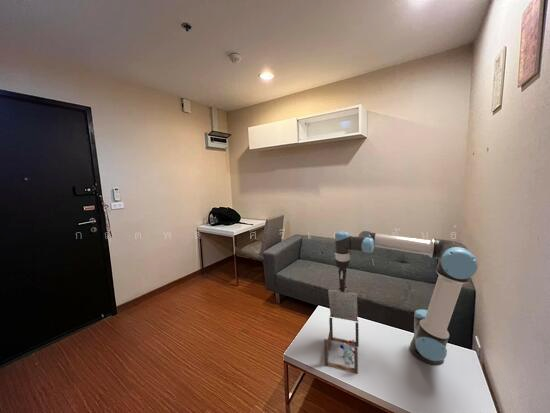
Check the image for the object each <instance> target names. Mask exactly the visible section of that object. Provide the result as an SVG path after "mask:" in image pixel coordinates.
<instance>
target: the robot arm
mask: <svg viewBox="0 0 550 413" xmlns="http://www.w3.org/2000/svg"><path fill="white" fill-rule="evenodd" d="M375 247H376V248H383V249H388V250H394V251H402V252H408V253H414V254H421V255H427V256H429V257H430V258H431V259H436V260H437V259H438V263H437V265H436V269H435V272H436V274H437V275H438V276H437V280H436V283H435V286H434V289H433V292H432V295H431V299H430V302H429V305H428V307H427V308H428V309H424V308H423V309H422V308H421V309H416V310H415V311H414V314H413V316H414V320H413V321H414V323H413V337H412V339H411V341H410V344H409V350H410V353H411V354H412V355H413V356H414V357H415V358H416V359H417V360H420V361H421V362H423V363H425V364H429V365H434V366H438V365H441V364H443V363H444V362H445V359H446V357H447V351H448V350H447V344H448V341H449V339H450V333H449V331H448V327H449V324H450V322H451V320H452V319H451V318H452V315H453V312H454V310H455V307H456V304H457V302H458V301H457V300H458V298H459V296H460V292H461V291H462V287H463V285H465V284H468V283H469V281H470V278H471V277H473V276H474V275H475V274H476V273H477V271H478V261H477V259H476V257H475V255H474V254H473V253H472V252H471V251H470V250H469V248H468V247H467V246H466V244H463V243H462V242H459V241H457V240H449V239H441V238H431V239H425V238H415V237H408V236H400V235H392V234H386V233H376V232H372V231H370V230H367V229H366V230H362V231H361V232H360V233H359V234H358V236H352V235H350V233H349V231H346V230H345V231H343V230H342V231H341V230H340V231H336V232H335V234H334V252H335V253H333V255H335V260H334V261H335V264H334V265H335V267H336V268H337V269H338V272H337V273H338V278H339V280H338V281H339V282H338V283H339V287H338V291H345V292H346V289H347V288H348V286H346V284H347V283H346V277H347V269H348V268H350V251H353V252H361V253H373V251H374V248H375Z"/></svg>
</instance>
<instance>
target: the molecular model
mask: <svg viewBox="0 0 550 413" xmlns="http://www.w3.org/2000/svg"><path fill="white" fill-rule="evenodd" d="M352 342H355V339H352V340H351V339H350V340H349V343H350V344H349V347H348V349H347V350H346V349H345V348H344V346H346V344H347V343H343V342H342V344H340V345H339V347H337V351H340V349H342V350H343V351H344V353H342V355H341V356H342V357H345V355H346V356H347V358H346V359H345V360H344V361H345V362H346V363H348V362H349V361H351V363H352V364H354V359H352V358H353V357H354V349H353V347H352V344H351V343H352ZM349 352H352V353H351V355H349Z"/></svg>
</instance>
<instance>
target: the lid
mask: <svg viewBox="0 0 550 413" xmlns="http://www.w3.org/2000/svg"><path fill="white" fill-rule="evenodd" d="M327 293H328V294H327V295H328V301H329V302H328V303H329V318H335V319H340V320H346V321H350V322H351V321H352V322H355V323H356V322H357V323H359V319H358V293H357V292H351V291H346V290H345V291H340V290H336V289H328V290H327Z"/></svg>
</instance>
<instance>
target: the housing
mask: <svg viewBox="0 0 550 413" xmlns="http://www.w3.org/2000/svg"><path fill="white" fill-rule="evenodd" d="M333 330H334V329H333V317H329V333H328V337H327V339H324V340H323V344H324V345H323V349H324V350H323V353H324V354H323V355H324V356H323V357H324V366H326V367H327V366H329V367H333V368H335V369H340V370H344V371H348V372H352V373H354V374H357V375H358V373H359V372H358V371H359V370H358V369H359V364H358V363H359V361H358V360H359V359H358V357H359V356H358V355H359V353H358V351H359V349H358V348H359V345H360V344H359V341H360V340H359V335H360V334H359V322H356V321H355V341H354V342H352V343H351V346H352V345H353V350H354V356H353V361H354V367H350V366H347V365H343V364H338V363H336V362H332V361H329V353H330V349H331V348H330V347H331V344H332V342H333V341H334V342H339V343H342V344H343V343H346V344H349V345H350V343H349V340H348V339H343V338H339V337H338V338H337V337H335V336H334V334H333Z"/></svg>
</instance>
